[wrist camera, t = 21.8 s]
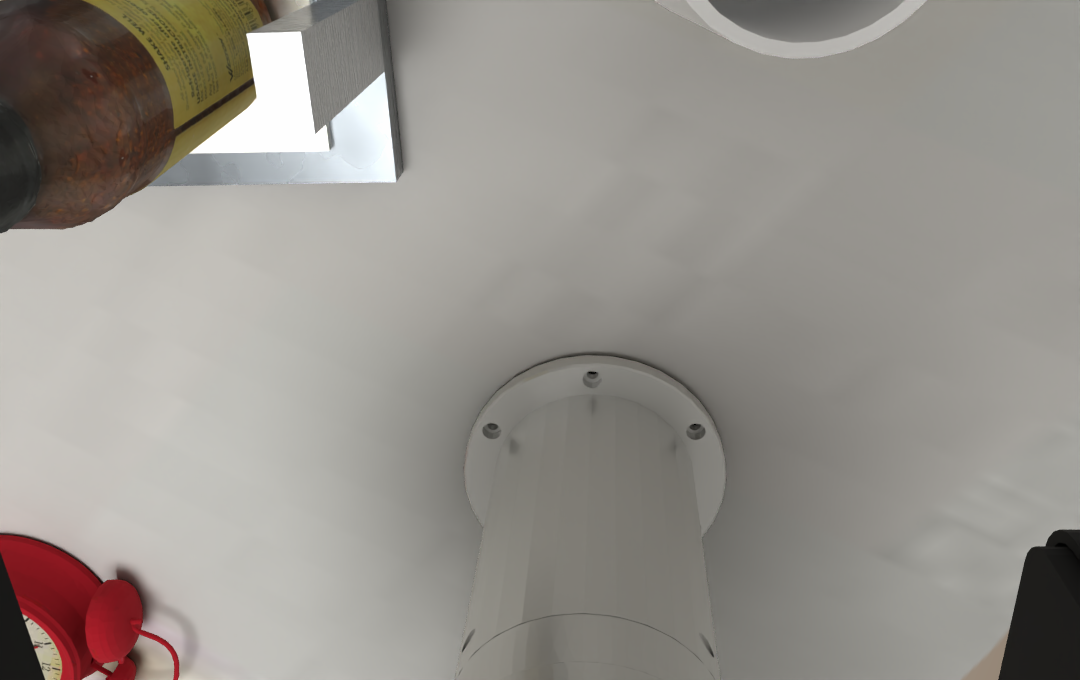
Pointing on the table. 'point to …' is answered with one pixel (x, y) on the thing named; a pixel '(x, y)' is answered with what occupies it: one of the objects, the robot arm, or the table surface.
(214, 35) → the sauce bottle
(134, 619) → the alarm clock
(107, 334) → the table surface
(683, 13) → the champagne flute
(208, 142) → the base
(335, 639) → the table surface
